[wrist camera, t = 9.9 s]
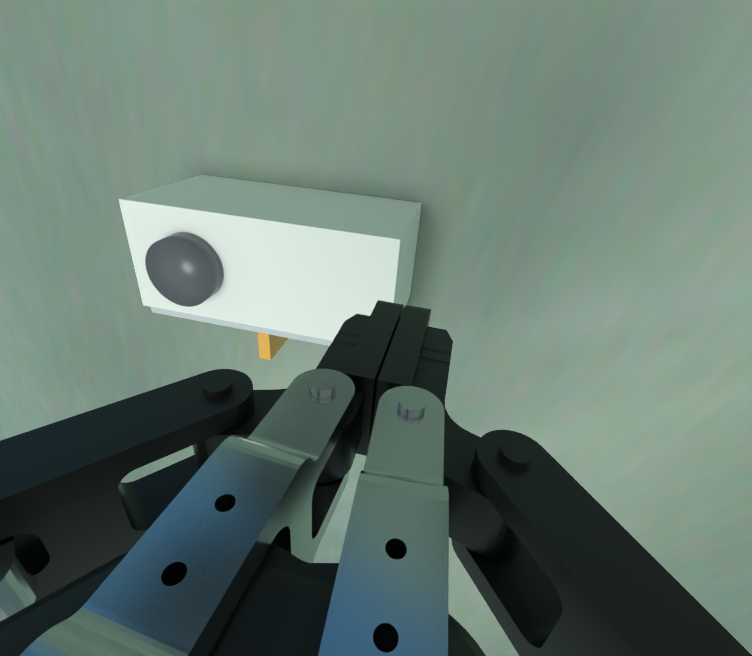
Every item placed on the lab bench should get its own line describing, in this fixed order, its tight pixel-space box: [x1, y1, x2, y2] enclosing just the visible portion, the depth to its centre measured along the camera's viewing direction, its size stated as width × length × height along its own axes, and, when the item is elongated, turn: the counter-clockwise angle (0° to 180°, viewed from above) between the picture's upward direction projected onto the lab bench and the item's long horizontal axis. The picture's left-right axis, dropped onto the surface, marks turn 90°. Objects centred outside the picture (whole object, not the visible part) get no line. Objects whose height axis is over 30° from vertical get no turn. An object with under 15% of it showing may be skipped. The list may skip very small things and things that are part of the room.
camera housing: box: [119, 174, 422, 346], centre depth 40 cm, size 11×24×14 cm, turn 86°
